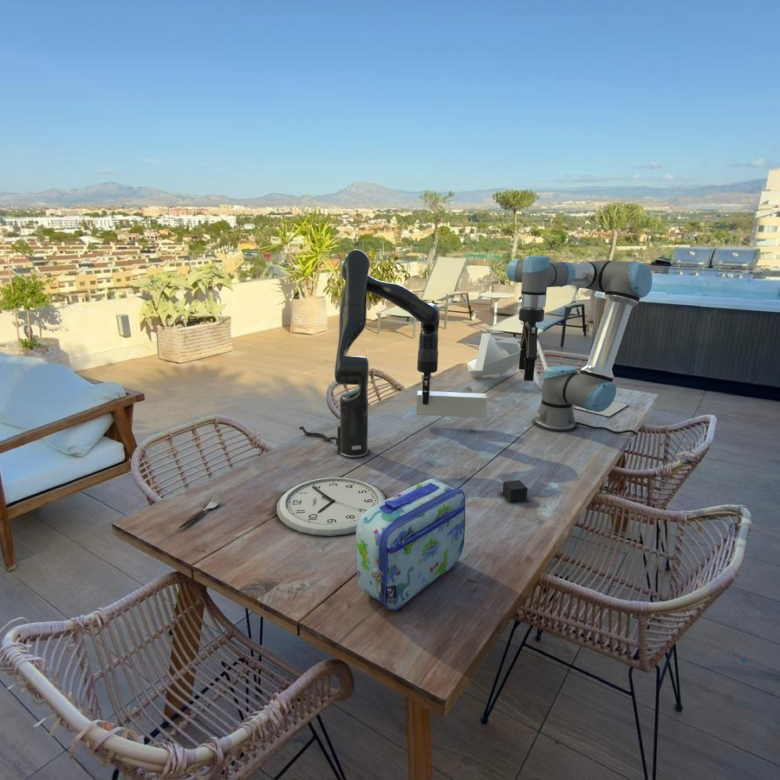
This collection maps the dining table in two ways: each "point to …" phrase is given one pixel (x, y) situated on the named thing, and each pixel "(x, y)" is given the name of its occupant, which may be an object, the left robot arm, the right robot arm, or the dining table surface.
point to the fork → (209, 506)
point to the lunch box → (409, 541)
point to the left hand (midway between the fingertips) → (425, 401)
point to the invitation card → (608, 409)
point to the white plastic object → (500, 357)
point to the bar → (453, 404)
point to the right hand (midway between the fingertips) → (525, 374)
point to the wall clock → (327, 505)
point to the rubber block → (514, 491)
